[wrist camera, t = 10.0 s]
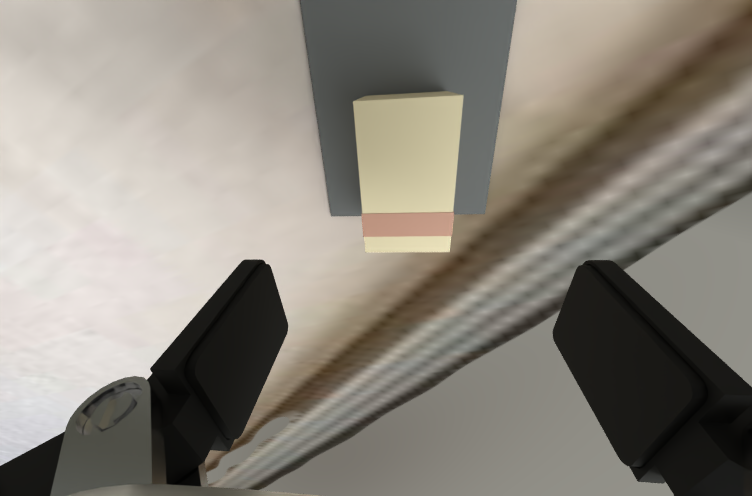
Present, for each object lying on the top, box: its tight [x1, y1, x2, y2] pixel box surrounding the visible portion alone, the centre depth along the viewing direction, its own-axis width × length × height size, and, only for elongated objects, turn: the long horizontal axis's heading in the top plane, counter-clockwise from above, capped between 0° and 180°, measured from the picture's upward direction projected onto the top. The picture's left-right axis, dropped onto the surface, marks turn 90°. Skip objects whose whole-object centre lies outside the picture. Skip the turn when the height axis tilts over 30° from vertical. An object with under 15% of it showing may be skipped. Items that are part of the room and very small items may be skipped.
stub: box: [353, 91, 464, 252], centre depth 19 cm, size 9×6×6 cm, turn 3°
